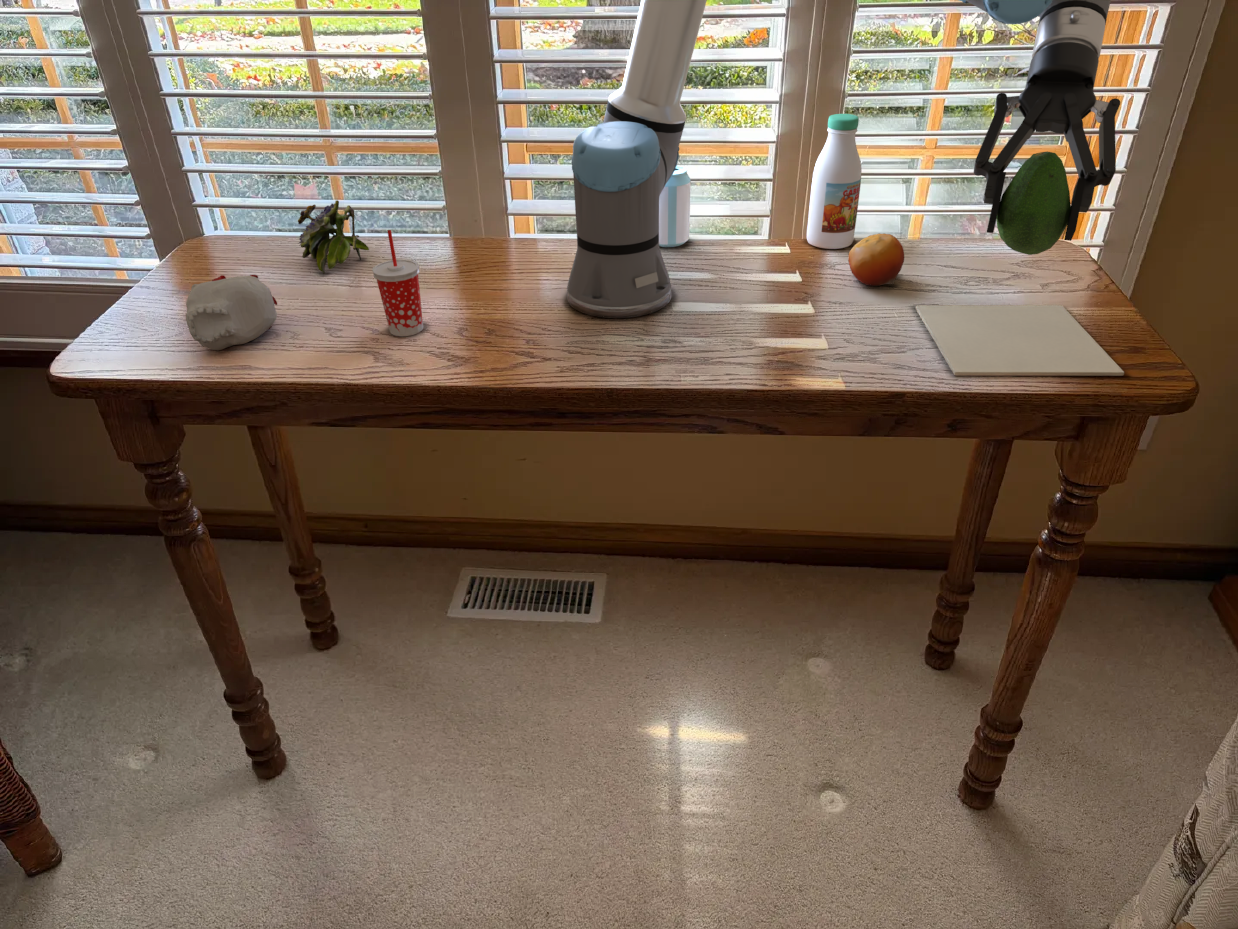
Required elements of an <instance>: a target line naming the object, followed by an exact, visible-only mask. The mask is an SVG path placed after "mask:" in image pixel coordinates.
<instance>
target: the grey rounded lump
mask: <svg viewBox="0 0 1238 929" xmlns="http://www.w3.org/2000/svg"><path fill="white" fill-rule="evenodd" d="M185 305H186V312H185V321H186V325H187V327H188V332H189V334H190V336H191V337H192V340H194V341H196V342H198V344H200V345H201V347H204V348H206V349H209V350H211V351H222V350H224V349H227V348H229V347H232V346H235V345H245V344H247V343H249V342H251V341H253V340H256V339H257V338H259V337H261V336H262V335H263V334H264V333H265V332H266V331H268V330H270V329H272V326H273V325H274V324H275V322H276V320H277V315H278V313H277V310H276V306H277V305H278V301H277V300H276V298H275V297H274V295H273V294H272V291H271V289H270V288H269V286H268V285H266V283H264V282H262V281H260V279H259V276H258V274H250V275H237V276H232V277H226V276H225V275H223V274H221V275H220V276H218V277H215V278H213V279H212V280H210V281H209V280H208V281H205V282H200V283H194V284H192V286H191V289H190V292H189V294H188V296H187V298H186V301H185Z"/></svg>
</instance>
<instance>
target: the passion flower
mask: <svg viewBox="0 0 1238 929" xmlns="http://www.w3.org/2000/svg"><path fill="white" fill-rule="evenodd" d="M316 207H317V206H316V204H312V205H308V206H307V207H306V209H305V210H301V211H300V213H299V214H300V216H299V217H298V219H297V222H298V223H297V224H298V225H302V224H303V223H304V222H305V220H306V219H308V220H310V222H309V224H307V225H305V230H303V231H302V233H300V234H299V242H297V245H298V244H299V245H298V246H300V247H301V248H304V250H303V251H302V256H301V258H302V259H306V258H308V257H309V256H310V257H311V258H312V259H314V260H316V266H317V269H318V271H319V272H322V274H323V275H324V274H325V272H326V271H325V267H326V266H327V269H328V270H330V271H331V270H333V269H334V268H335V267H336V266H337V265H338V264H339V265H342V264H344V263H345V262H346V260H347V259H348V258H349V256H350V253H351V247H352V249H353V251H355V252H356V254H357V256H358V258H359V260H360V261H362V257H361V253H360V250H363V251H370V248H369V247H368V245H367V244H366V243H365V242H363V241H362V240H361V239H359V237H360V235H358V234H356V227H355V218H356V217H355V216H356V215H355V209H353V208H352V206H351V205H347V206H346V207H345V209H343V212H344V213H339V208H340V201H339V200H338V199H337V200H335V201H334V203H332V202H331V204H330V205H326V206H325V207H324V209H323V210H321V212H320V213H319V214H317V215H315V216H314V217H312V216H311V214H312V213H313V211H315V209H316ZM350 218H351V229H352V230H351V232H352V233H351V236H350V235H345V234H344V227H345V221H349V220H350ZM335 227H336V228H335ZM330 235H331V236H330ZM326 263H327V264H326Z"/></svg>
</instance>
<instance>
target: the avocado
mask: <svg viewBox="0 0 1238 929" xmlns="http://www.w3.org/2000/svg"><path fill="white" fill-rule="evenodd" d="M1070 194H1071V193H1070V188H1069V182H1068V177H1067V172H1066V168H1065V165H1064V162H1063V160H1062V158H1061V157H1059V155H1058V154H1057V153H1056V152H1052V151H1048V150H1047V151H1040V152H1036V153H1033V154H1031V156H1030V157H1029V158H1028V159H1026V160H1025V161H1024V162H1023V164H1021V166H1020V167H1019V168H1018V170H1017V171H1016V173H1015V175H1014V176H1013V178H1012V179H1011V180H1010V182H1009V184H1008V185H1007V187H1006V189H1004V191H1003V192H1002V195H1001V200H1000V204H999V209H998V214H997V219H996V228H997V232H998V234H999V237H1000V239H1001V240H1002V241H1003V243H1005V245H1006V246H1007V247H1008V248H1010V249H1011V250H1012V251H1014V252H1017V253H1020V254H1024V255H1028V256H1032V255H1038V254H1041V253H1044V252H1046V251H1048V250H1051V249H1052V248H1053V246H1055V244H1056V243H1058V241H1059V240H1060V238H1061V237H1062V235H1063V233H1064V231H1066V228H1067V223H1068V218H1069V214H1070V208H1071V195H1070Z"/></svg>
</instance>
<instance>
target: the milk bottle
mask: <svg viewBox="0 0 1238 929" xmlns="http://www.w3.org/2000/svg"><path fill="white" fill-rule="evenodd" d="M859 118H860V117H859V116H857V115H855V114H851V113H835V114H831V115H829V116H828V119H827V133H828V134H827V138H826V140H825V141H826V142H825V143H824V146H823V148H822V150H821V152H820V153H819V155H818V157H817V159H816V162H815V166H814V168H813V172H812V180H811V181H812V182H811V188H810V198H809V208H808V216H807V217H808V218H807V227H806V241H807V243H808V244H809V245H811V246H813V247H817V248H820V249H826V250H827V249H829V250H837V249H843V248H848V247H849V246H851V245H852V244H853V242H854V239H855V234H856V233H855V231H856V224H857V217H858V209H859V201H860V192H861V183H862V162H861V157H860V155H859V154H860V153H859V151H858V148H857V142H856V133H857V132H858V128H859V121H860V120H859Z"/></svg>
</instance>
